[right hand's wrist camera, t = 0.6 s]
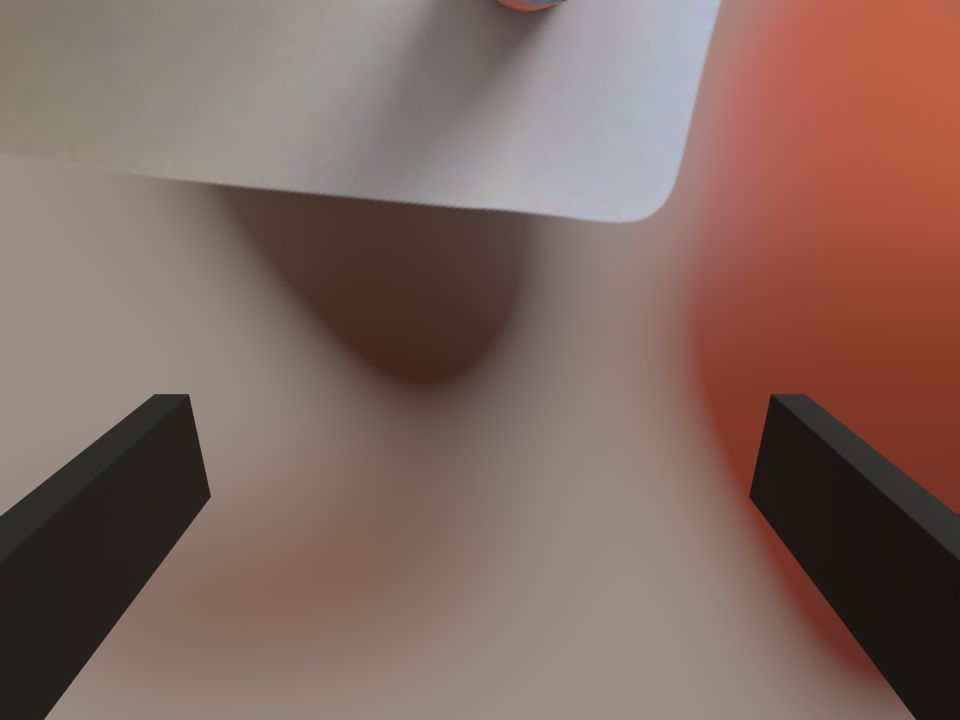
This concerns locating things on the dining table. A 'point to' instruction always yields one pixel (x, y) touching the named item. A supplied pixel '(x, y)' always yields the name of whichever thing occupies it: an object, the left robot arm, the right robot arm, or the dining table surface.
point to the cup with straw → (528, 4)
